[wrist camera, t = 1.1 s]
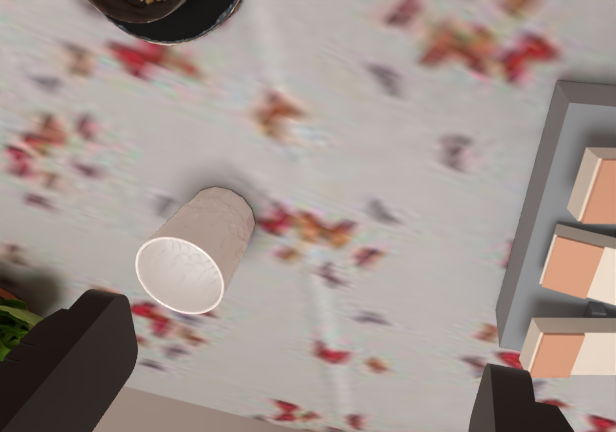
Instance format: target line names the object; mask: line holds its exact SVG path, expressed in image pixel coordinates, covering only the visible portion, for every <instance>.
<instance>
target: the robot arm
mask: <svg viewBox="0 0 616 432" xmlns="http://www.w3.org/2000/svg"><path fill="white" fill-rule="evenodd" d="M137 354H138V345H137V340H136V335H135V330H134V324H133V319H132V314H131V309H130V304H129V300H128V298H127V297H126V296H125V295H122V294H116V293H111V292H105V291H100V290H95V289H90V290H87V291H86V292H85V293H83V294H82V295H81V296H80V298H79V299H78V300H77V301H76V302H75V303H74V304H73V305H72V306H71V307H70V308H69V309H68V310H67V309H60V310H58V311H57V312H55V313H53V314H51V315H50V316H48V317H46V318H45V319H43V320H41V321H40V322H38V323H37V324H36V325H35V326H34V327H33V328H32V329H31V330H30V331H29V332H28V333H27V334H26V335H25V336H24V337H23V338H22V339H21V340H20V341H19V345H18V346H17V345H15V346H14V347H13V348H12V349H11V350H10V351H9V352H8V353H7V354H6V355H5V356H4V360H3V361H0V432H92V431H93V430H94V428H95V427H96V425H97V424H98V422H99V421H100V419H101V418H102V416H103V415H104V413H105V412H106V410H107V409H108V408H109V406H110V405H111V403H112V402H113V400H114V399H115V397H116V396H117V394H118V392H119V391H120V390H121V388H122V387H123V385H124V384H125V382H126V381H127V379H128V378H129V376H130V375H131V373H132V371H133V369H134V366H135V363H136V360H137ZM469 432H574V430H573V429H572V427H571V426H570V424H569V423H568V421H567V420H566V418H565V417H564V415H563V414H562V412H561V411H560V409H559V408H558V406H555V405H550V404H545V403H539V402H535V397H534V391H533V384H532V379H531V375H530V372H529V371H527V370H522V369H516V368H511V367H505V366H500V365H495V364H489V363H487V364H486V366H485V369H484V372H483V375H482V379H481V382H480V386H479V390H478V393H477V397H476V400H475V404H474V407H473V411H472V415H471V419H470V425H469Z"/></svg>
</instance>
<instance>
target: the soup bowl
mask: <svg viewBox="0 0 616 432" xmlns="http://www.w3.org/2000/svg"><path fill="white" fill-rule="evenodd" d="M88 1H89V2H90V3H91V4H93V5H94V6H95V8H97V10H98V11H99V12H100V13H101V14H102V15H103V16H104V17H105V18H106V19H108V21H111V22H112V23H114V24H115V25H116V26H117V27H118V28H120V29H121V30H123V31H124V32H126V33H127V34H129V35H131V36H133V37H136V38H138V39H140V40H143V41H146V42H150V43H154V44H159V45H165V46H173V45H177V44H181V43H188V42H191V41H193V40H196V39H198V38H202V37H204V36H205V35H207V34H208V33H209V32H211V31H212V30H214V29H216V28H217V26H219V25H220V24H222V23H223V22H224V21H225V20H226V19H227V18H229V17H230V16H231V15H232V14H233V13H234V12H235V11H236V9H237V7H238V5H239V3H240V1H241V0H88Z"/></svg>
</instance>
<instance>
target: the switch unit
mask: <svg viewBox="0 0 616 432" xmlns="http://www.w3.org/2000/svg"><path fill="white" fill-rule="evenodd" d="M586 147H599V148H616V85H604V84H592V83H580V82H568V81H557V82H556V86H555V90H554V93H553V97H552V101H551V104H550V108H549V112H548V116H547V119H546V123H545V127H544V131H543V134H542V138H541V142H540V146H539V149H538V153H537V157H536V161H535V164H534V168H533V172H532V176H531V179H530V183H529V187H528V191H527V194H526V198H525V202H524V206H523V209H522V213H521V217H520V221H519V224H518V228H517V232H516V236H515V239H514V243H513V247H512V250H511V254H510V258H509V262H508V265H507V269H506V273H505V277H504V280H503V284H502V288H501V292H500V295H499V299H498V303H497V307H496V319H497V329H498V338H499V347H501V348H506V349H512V350H518V351H522V348H523V345H524V342H525V339H526V336H527V332H528V329H529V326H530V323H531V320H532V318H616V305H612V304H609V303H605V302H602V301H598V300H595V299H591V298H588V297H586V299H583V298H579V297H576V296H572V295H569V294H565V293H562V292H558V291H555V290H552V289H548V288H545V287H541V286H542V284H539V282H540V278H541V273H542V270H543V266H544V263H545V260H546V257H547V254H548V250H549V247H550V244H551V241H552V238H553V234H554V231H555V228H556V225H557V224H560V225H564V226H568V227H573V228H577V229H581V230H585V231H589V232H593V233H597V234H601V235H606V236H610V237H614V238H616V224H583V223H582V222H581V221H577V220H576V219H575V217H574V216H573V215H572V214H571V213H570V212H569V210H568V209H567V206H568V203H569V200H570V197H571V194H572V190H573V187H574V184H575V181H576V178H577V175H578V172H579V168H580V165H581V162H582V159H583V156H584V153H585V149H586Z"/></svg>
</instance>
